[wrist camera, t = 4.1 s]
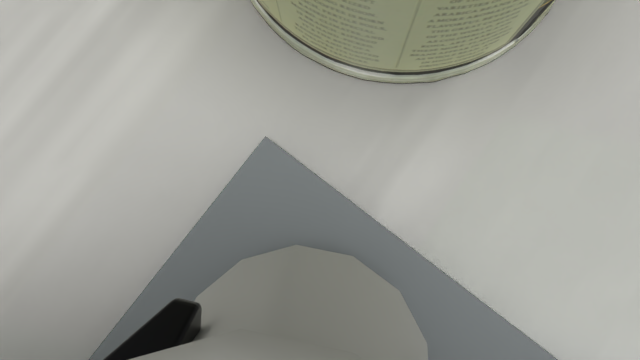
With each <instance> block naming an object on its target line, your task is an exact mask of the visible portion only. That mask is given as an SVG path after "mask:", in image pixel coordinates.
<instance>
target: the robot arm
mask: <svg viewBox="0 0 640 360" xmlns="http://www.w3.org/2000/svg"><path fill="white" fill-rule="evenodd" d="M201 313H202V308H201V305H200V304H199V303H198V302H194V301H190V300H186V299H182V298H175V299H173V300H172V301H170V302H169V303H168V304H167V305H166V306H165V307H163V308H162V309H161V310H160V311H159V312H158V313H156V314H155V315H154V316H153V317H152V318H151V319H149V320H148V321H147V322H146V323H145V324H144V325H142V326H141V327H140V328H139V329H138V330H137V331H136V332H134V333H133V334H132V335H131V336H130V337H129V338H127V339H126V340H125V341H124V342H123V343H122V344H120V345H119V346H118V347H117V348H116V349H115V350H113V351H112V352H111V353H110V354H109V355H108V356H106V357H105V358H104V359H103V360H129V359H132V358H136V357H139V356H143V355H147V354H150V353H154V352H158V351H161V350H165V349H168V348H172V347H176V346H179V345H183V344H186V343H190V342H192V341H193V340H194V338H195V337H196V335H197V334H198V332H199V331H200V329H201Z"/></svg>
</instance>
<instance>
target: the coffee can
mask: <svg viewBox="0 0 640 360" xmlns="http://www.w3.org/2000/svg"><path fill="white" fill-rule="evenodd" d="M251 2H252V4H253V5H254V7H255V8H256V9H257V11H258V12H259V13H260V14H261V16H262V17H263V18H264V20H265V21H266V22H267V23H268V24H269V25H270V27H271V28H272V29H273V30H274V31H275V32H276V33H277V34H278V35H279V36H280V37H282V38H283V39H284V40H285V41H286V42H287V43H288V44H289V45H290V46H291V47H292V48H294V49H295V50H297V51H298V52H300V53H302V54H303V55H305V56H307V57H308V58H310V59H312V60H314V61H316V62H318V63H320V64H322V65H324V66H326V67H328V68H330V69H333V70H335V71H337V72H340V73H343V74H346V75H350V76H354V77H357V78H360V79H364V80H371V81H379V82H388V83H413V82H434V81H438V80H442V79H444V78H447V77H451V76H455V75H459V74H463V73H466V72H468V71H471V70H473V69H476V68H478V67H480V66H482V65H485V64H487V63H489V62H491V61H493V60H494V59H496V58H498V57H499V56H501V55H502V54H504V53H505V52H507V51H508V50H510V49H511V48H513V47H514V46H515V45H516V44H518V43H519V42H520V41H521V40H522V39H524V38H525V37H526V36H527V35H528V34H529V33H530V32H531V31H532V30H533V29H534V28H535V27H536V26H537V25H538V24H539V23H540V22H541V20H542V19H543V18H544V17H545V16H546V15H547V14H548V12H549V10H550V8H551V7H552V5H553V3H554V2H555V0H251Z"/></svg>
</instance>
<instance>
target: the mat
mask: <svg viewBox="0 0 640 360" xmlns="http://www.w3.org/2000/svg"><path fill="white" fill-rule="evenodd" d="M294 245H300V246H305V247H310V248H315V249H320V250H325V251H330V252H335V253H340V254H345V255H350V256H353V257H355V258H356V259H357V260H359V261H360V262H361V263H363V264H364V265H365V266H367V267H368V268H369V269H371V270H372V271H373V272H375V273H376V274H378V275H379V276H380V277H382V278H383V279H384V280H386V281H387V282H388V283H390V284H391V285H392V286H394V287H395V288H396V289H398V290H399V291H400V293H401V295H402V297H403V298H404V300H405V302H406V304H407V306H408V308H409V310H410V312H411V314H412V316H413V318H414V319H415V321H416V323H417V325H418V327H419V329H420V331H421V333H422V335H423V337H424V338H425V340H426V342H427V349H428V360H557V359H556V358H555V357H553V356H552V355H551V354H549V353H548V352H547V351H546V350H544V349H543V348H542V347H540V346H539V345H538V344H536V343H535V342H534V341H533V340H531V339H530V338H529V337H527V336H526V335H525V334H523V333H522V332H521V331H519V330H518V329H517V328H516V327H514V326H513V325H512V324H510V323H509V322H508V321H506V320H505V319H504V318H502V317H501V316H500V315H499V314H497V313H496V312H495V311H493V310H492V309H491V308H489V307H488V306H487V305H485V304H484V303H483V302H482V301H480V300H479V299H478V298H476V297H475V296H474V295H472V294H471V293H470V292H468V291H467V290H466V289H465V288H463V287H462V286H461V285H459V284H458V283H457V282H455V281H454V280H453V279H451V278H450V277H449V276H448V275H446V274H445V273H444V272H442V271H441V270H440V269H438V268H437V267H436V266H434V265H433V264H432V263H431V262H429V261H428V260H427V259H425V258H424V257H423V256H421V255H420V254H419V253H418V252H416V251H415V250H414V249H412V248H411V247H410V246H408V245H407V244H406V243H404V242H403V241H402V240H401V239H399V238H398V237H397V236H395V235H394V234H393V233H391V232H390V231H389V230H387V229H386V228H385V227H384V226H382V225H381V224H380V223H378V222H377V221H376V220H374V219H373V218H372V217H370V216H369V215H368V214H367V213H365V212H364V211H363V210H361V209H360V208H359V207H357V206H356V205H355V204H353V203H352V202H351V201H350V200H348V199H347V198H346V197H344V196H343V195H342V194H340V193H339V192H338V191H336V190H335V189H334V188H333V187H331V186H330V185H329V184H327V183H326V182H325V181H323V180H322V179H321V178H319V177H318V176H317V175H316V174H314V173H313V172H312V171H310V170H309V169H308V168H306V167H305V166H304V165H303V164H301V163H300V162H299V161H297V160H296V159H295V158H293V157H292V156H291V155H289V154H288V153H287V152H286V151H284V150H283V149H282V148H280V147H279V146H278V145H276V144H275V143H274V142H272V141H271V140H270V139H269V138H267V137H266V136H265V138H264V139H263V140H262V141H261V143H260V144H259V145H258V146H257V148H256V149H255V150H254V152H253V153H252V154H251V155H250V157H249V158H248V159H247V160H246V162H245V163H244V164H243V165H242V167H241V168H240V169H239V170H238V172H237V173H236V174H235V176H234V177H233V178H232V179H231V181H230V182H229V183H228V184H227V186H226V187H225V188H224V189H223V191H222V192H221V193H220V194H219V196H218V197H217V198H216V200H215V201H214V202H213V203H212V205H211V206H210V207H209V208H208V210H207V211H206V212H205V213H204V215H203V216H202V217H201V218H200V220H199V221H198V222H197V224H196V225H195V226H194V227H193V229H192V230H191V231H190V232H189V234H188V235H187V236H186V237H185V239H184V240H183V241H182V242H181V244H180V245H179V246H178V248H177V249H176V250H175V251H174V253H173V254H172V255H171V256H170V258H169V259H168V260H167V261H166V263H165V264H164V265H163V266H162V268H161V269H160V270H159V272H158V273H157V274H156V275H155V277H154V278H153V279H152V280H151V282H150V283H149V284H148V285H147V287H146V288H145V289H144V290H143V292H142V293H141V294H140V296H139V297H138V298H137V299H136V301H135V302H134V303H133V304H132V306H131V307H130V308H129V309H128V311H127V312H126V313H125V315H124V316H123V317H122V318H121V320H120V321H119V322H118V323H117V325H116V326H115V327H114V328H113V330H112V331H111V332H110V333H109V335H108V336H107V337H106V339H105V340H104V341H103V342H102V344H101V345H100V346H99V347H98V349H97V350H96V351H95V352H94V354H93V355H92V356H91V357H90V359H89V360H103V359H104V358H105V357H106V356H108V355H109V354H110V353H111V352H112V351H113V350H115V349H116V348H117V347H118V346H119V345H120V344H122V343H123V342H124V341H125V340H126V339H127V338H129V337H130V336H131V335H132V334H133V333H134V332H136V331H137V330H138V329H139V328H140V327H141V326H142V325H144V324H145V323H146V322H147V321H148V320H149V319H151V318H152V317H153V316H154V315H155V314H156V313H158V312H159V311H160V310H161V309H162V308H163V307H165V306H166V305H167V304H168V303H169V302H170V301H172V300H173V299H175V298H182V299H186V300H190V301H195V299H196V297H197V296H198V295H199V294H201V293H202V292H203V291H204V290H205V289H207V288H208V287H209V286H210V285H212V284H213V283H214V282H215V281H216V280H218V279H219V278H220V277H221V276H222V275H224V274H225V273H226V272H227V271H228V270H230V269H231V268H232V267H233V266H235V265H236V264H237V263H238V262H239V261H241V260H242V259H246V258H249V257H253V256H257V255H260V254H264V253H268V252H271V251H275V250H279V249H282V248H286V247H290V246H294Z"/></svg>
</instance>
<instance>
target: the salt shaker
mask: <svg viewBox="0 0 640 360" xmlns="http://www.w3.org/2000/svg"><path fill="white" fill-rule="evenodd" d="M194 302H198V303H199V304H200V305H201V308H202V313H201V329H200V331H199V332H198V334H197V335H196V337H195V338H194V340H193V341H192V342H190V343H186V344H183V345H179V346H176V347H172V348H168V349H165V350H161V351H158V352H154V353H150V354H147V355H143V356H139V357H136V358H132V359H129V360H428V349H427V342H426V340H425V338H424V337H423V335H422V333H421V331H420V329H419V327H418V325H417V323H416V321H415V319H414V318H413V316H412V314H411V312H410V310H409V308H408V306H407V304H406V302H405V300H404V298H403V297H402V295H401V293H400V291H399V290H398V289H396V288H395V287H394V286H392V285H391V284H390V283H388V282H387V281H386V280H384V279H383V278H382V277H380V276H379V275H378V274H376V273H375V272H373V271H372V270H371V269H369V268H368V267H367V266H365V265H364V264H363V263H361V262H360V261H359V260H357V259H356V258H355V257H353V256H350V255H345V254H340V253H335V252H330V251H325V250H320V249H315V248H310V247H305V246H300V245H294V246H290V247H286V248H282V249H279V250H275V251H271V252H268V253H264V254H260V255H257V256H253V257H249V258H246V259H242V260H241V261H239V262H238V263H237V264H236V265H235V266H233V267H232V268H231V269H230V270H228V271H227V272H226V273H225V274H224V275H222V276H221V277H220V278H219V279H218V280H216V281H215V282H214V283H213V284H212V285H210V286H209V287H208V288H207V289H205V290H204V291H203V292H202V293H201V294H199V295H198V296H197V297H196V299H195V301H194Z"/></svg>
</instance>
